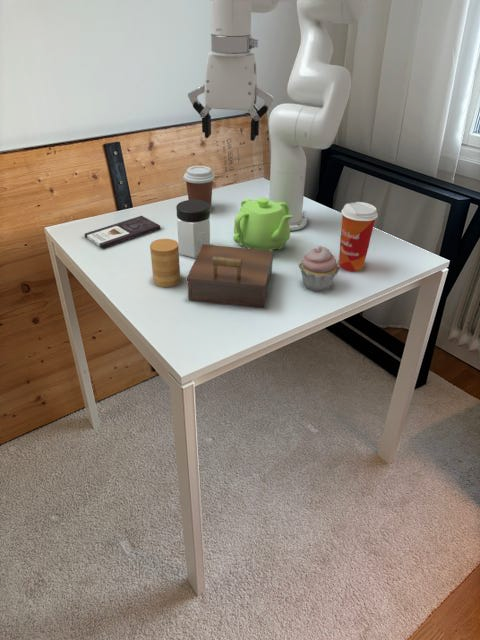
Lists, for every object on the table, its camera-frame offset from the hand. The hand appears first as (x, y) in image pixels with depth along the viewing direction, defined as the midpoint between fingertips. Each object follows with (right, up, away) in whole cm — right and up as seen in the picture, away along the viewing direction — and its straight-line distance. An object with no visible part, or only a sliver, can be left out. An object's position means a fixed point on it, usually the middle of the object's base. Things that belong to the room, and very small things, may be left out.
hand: (230, 137), depth 106 cm
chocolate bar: (-30, -15, +31) cm, 45 cm away
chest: (0, -31, +9) cm, 32 cm away
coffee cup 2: (+29, -25, +18) cm, 43 cm away
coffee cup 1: (-10, -5, +45) cm, 47 cm away
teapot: (+8, -19, +26) cm, 33 cm away
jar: (-10, -21, +23) cm, 33 cm away
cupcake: (+20, -30, +10) cm, 38 cm away
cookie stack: (-15, -29, +11) cm, 34 cm away
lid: (0, -27, +6) cm, 27 cm away
